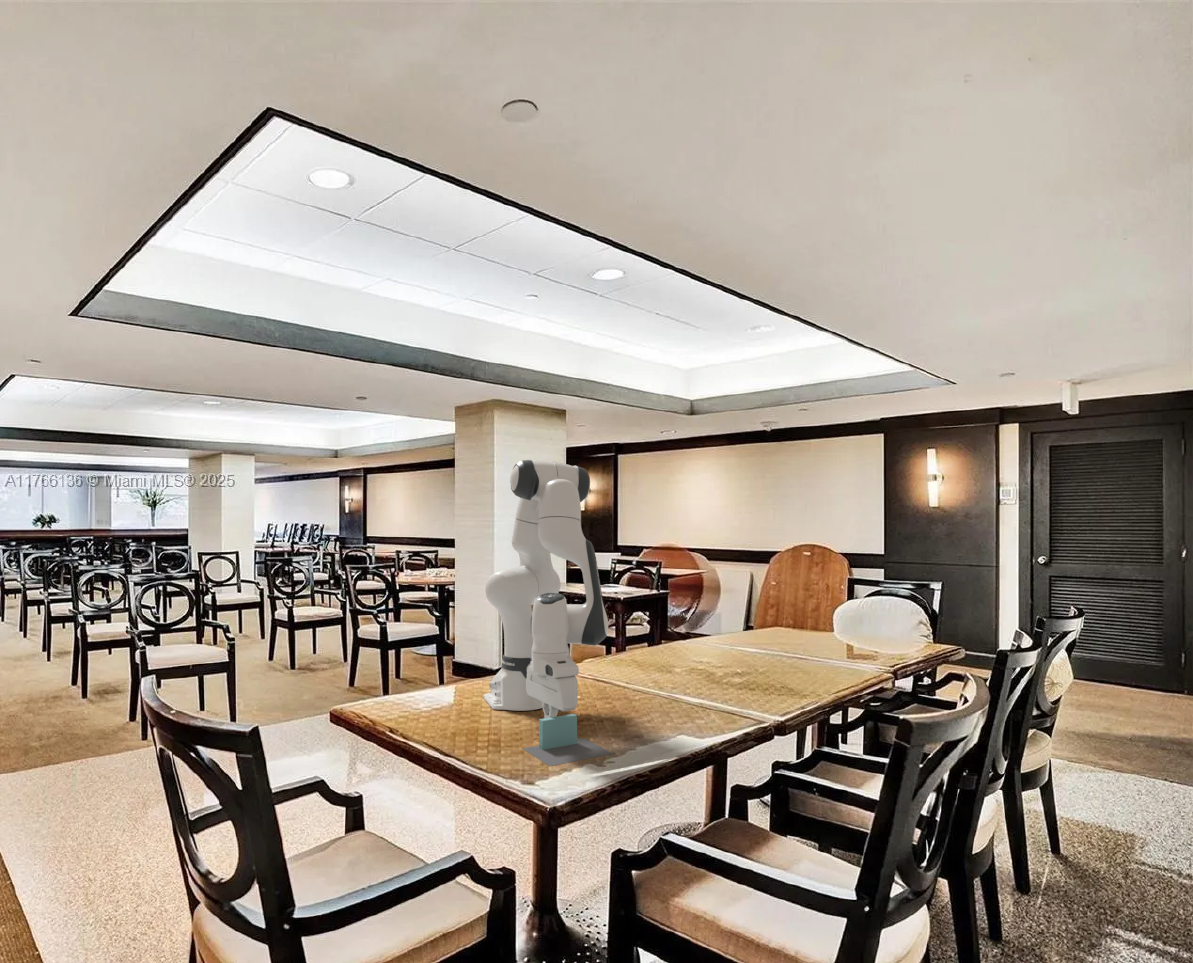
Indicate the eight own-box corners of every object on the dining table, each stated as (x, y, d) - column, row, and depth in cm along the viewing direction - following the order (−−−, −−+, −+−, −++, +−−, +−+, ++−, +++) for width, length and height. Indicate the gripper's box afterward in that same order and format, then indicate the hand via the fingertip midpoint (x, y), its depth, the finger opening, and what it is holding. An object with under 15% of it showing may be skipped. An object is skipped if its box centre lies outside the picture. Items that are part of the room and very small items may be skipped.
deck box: (538, 747, 174) (538, 719, 175) (573, 741, 179) (573, 713, 179) (542, 749, 173) (542, 721, 173) (577, 743, 177) (576, 715, 178)
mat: (522, 751, 174) (522, 748, 174) (583, 740, 182) (583, 737, 182) (549, 768, 162) (549, 766, 162) (613, 756, 170) (613, 753, 170)
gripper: (519, 657, 187) (519, 714, 187) (558, 672, 170) (558, 734, 169) (542, 654, 191) (542, 710, 190) (582, 668, 173) (582, 730, 172)
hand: (550, 722), depth 179 cm, fingers closed
